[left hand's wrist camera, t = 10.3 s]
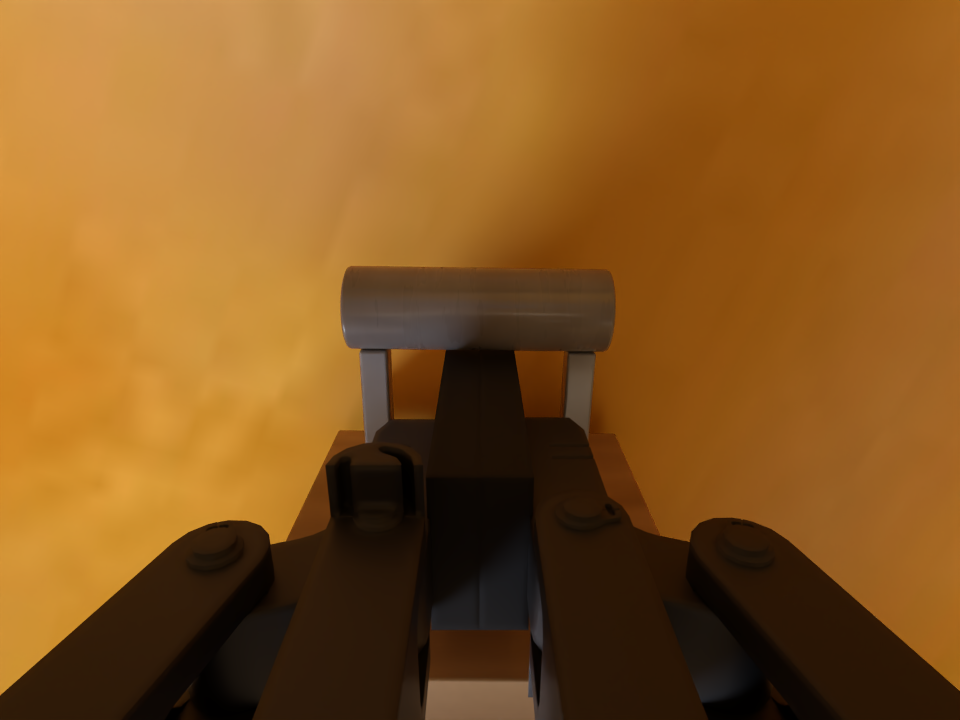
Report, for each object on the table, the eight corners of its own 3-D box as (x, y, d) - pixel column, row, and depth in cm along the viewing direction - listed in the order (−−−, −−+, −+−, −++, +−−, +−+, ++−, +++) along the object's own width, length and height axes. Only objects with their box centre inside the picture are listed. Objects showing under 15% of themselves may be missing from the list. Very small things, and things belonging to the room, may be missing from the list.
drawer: (322, 230, 17) (152, 332, 8) (636, 234, 17) (801, 340, 8) (370, 825, 26) (314, 1173, 17) (573, 827, 26) (620, 1176, 17)
